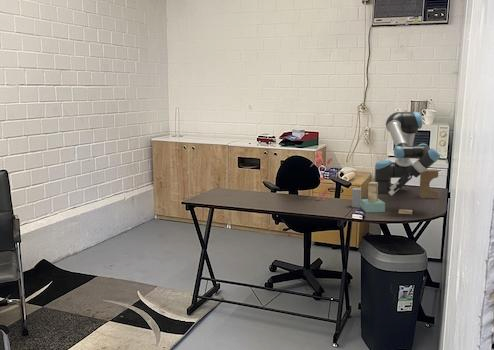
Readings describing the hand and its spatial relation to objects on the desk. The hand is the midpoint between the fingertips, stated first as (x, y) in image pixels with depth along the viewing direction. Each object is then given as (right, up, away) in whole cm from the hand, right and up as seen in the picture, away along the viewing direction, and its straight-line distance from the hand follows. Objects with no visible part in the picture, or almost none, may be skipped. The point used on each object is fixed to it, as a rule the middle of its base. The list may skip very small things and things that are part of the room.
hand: (390, 191), depth 291 cm
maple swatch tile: (+9, -13, -2) cm, 16 cm away
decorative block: (+37, -6, +35) cm, 51 cm away
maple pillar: (-10, -6, +5) cm, 13 cm away
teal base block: (-10, -12, +6) cm, 17 cm away
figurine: (-39, -7, +41) cm, 57 cm away
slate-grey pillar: (-18, -10, +15) cm, 26 cm away
